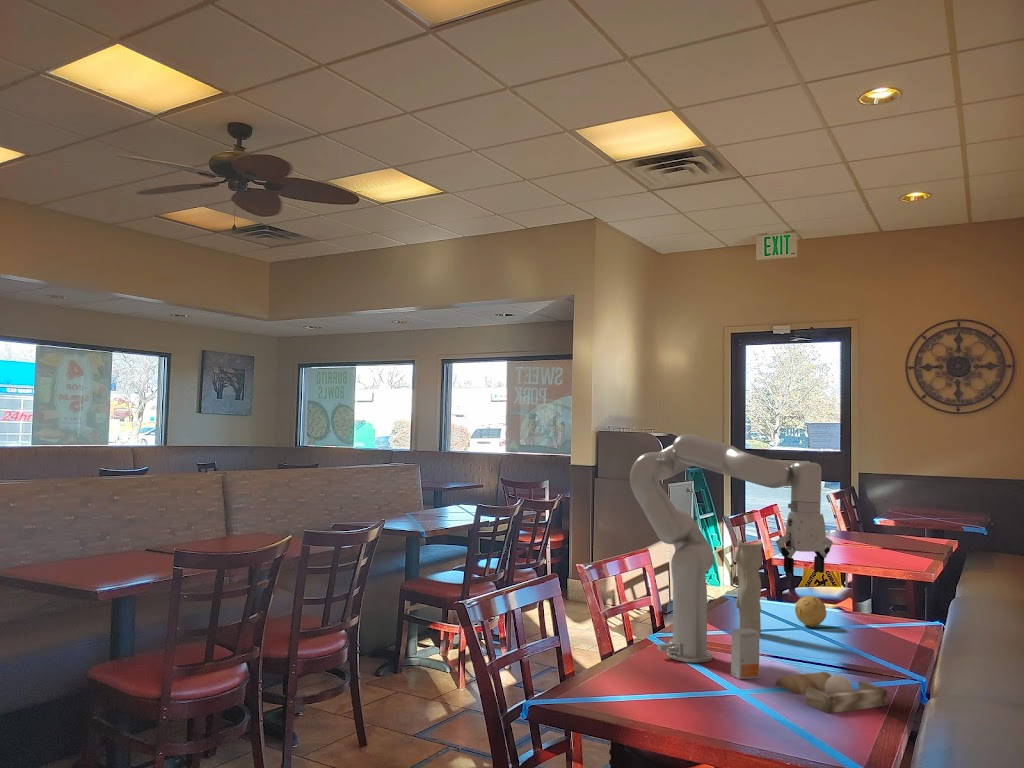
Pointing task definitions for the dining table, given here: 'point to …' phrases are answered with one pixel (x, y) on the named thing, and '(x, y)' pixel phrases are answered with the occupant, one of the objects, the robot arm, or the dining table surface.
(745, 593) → the vase
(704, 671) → the dining table surface
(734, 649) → the skincare box
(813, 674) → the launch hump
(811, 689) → the rail
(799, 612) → the stress ball
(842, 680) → the ball
